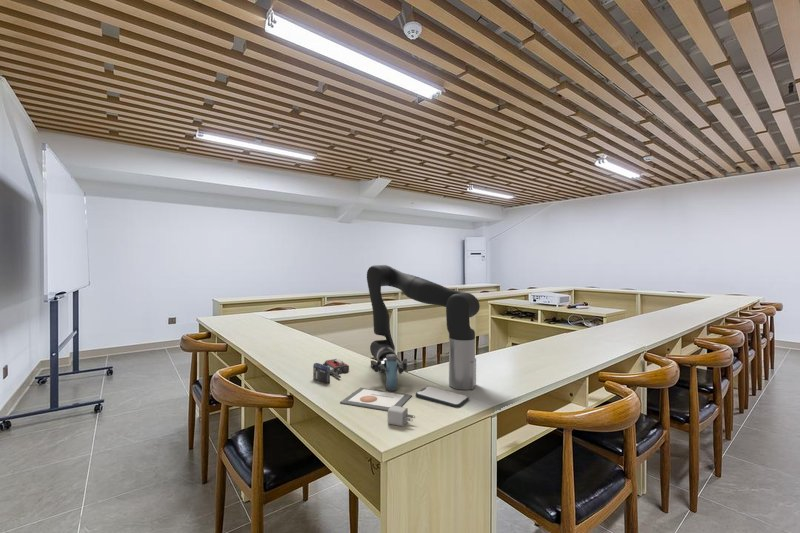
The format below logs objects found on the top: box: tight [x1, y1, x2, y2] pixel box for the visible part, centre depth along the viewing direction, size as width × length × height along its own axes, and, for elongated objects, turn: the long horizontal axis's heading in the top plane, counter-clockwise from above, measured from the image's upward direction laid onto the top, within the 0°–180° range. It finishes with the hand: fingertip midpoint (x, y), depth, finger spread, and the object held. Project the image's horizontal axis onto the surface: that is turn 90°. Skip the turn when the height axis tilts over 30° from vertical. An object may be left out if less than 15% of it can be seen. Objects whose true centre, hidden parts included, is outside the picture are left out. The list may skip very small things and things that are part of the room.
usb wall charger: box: [387, 406, 416, 427], centre depth 98 cm, size 4×7×4 cm, turn 67°
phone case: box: [415, 386, 470, 409], centre depth 116 cm, size 9×2×16 cm
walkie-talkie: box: [322, 358, 350, 379], centre depth 144 cm, size 9×4×20 cm
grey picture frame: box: [339, 387, 413, 412], centre depth 115 cm, size 19×14×1 cm
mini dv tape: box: [312, 362, 331, 385], centre depth 133 cm, size 8×2×6 cm, turn 49°
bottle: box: [385, 353, 398, 392], centre depth 124 cm, size 4×4×12 cm
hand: (392, 371), depth 121 cm, fingers open, 5 cm apart
